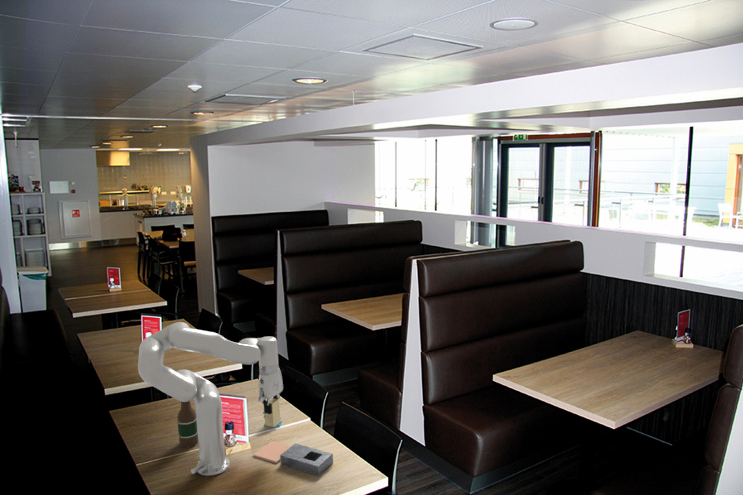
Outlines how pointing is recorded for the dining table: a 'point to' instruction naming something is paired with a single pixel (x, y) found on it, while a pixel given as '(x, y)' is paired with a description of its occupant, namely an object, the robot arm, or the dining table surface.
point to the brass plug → (273, 413)
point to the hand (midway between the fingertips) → (271, 410)
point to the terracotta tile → (272, 451)
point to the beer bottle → (187, 425)
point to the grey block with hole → (306, 459)
